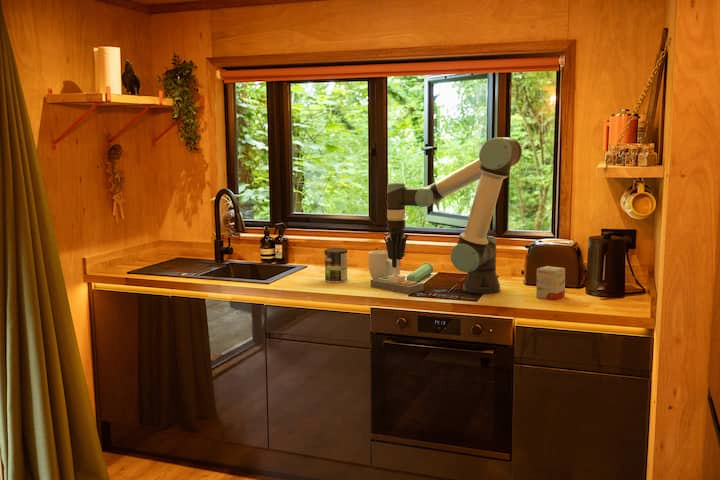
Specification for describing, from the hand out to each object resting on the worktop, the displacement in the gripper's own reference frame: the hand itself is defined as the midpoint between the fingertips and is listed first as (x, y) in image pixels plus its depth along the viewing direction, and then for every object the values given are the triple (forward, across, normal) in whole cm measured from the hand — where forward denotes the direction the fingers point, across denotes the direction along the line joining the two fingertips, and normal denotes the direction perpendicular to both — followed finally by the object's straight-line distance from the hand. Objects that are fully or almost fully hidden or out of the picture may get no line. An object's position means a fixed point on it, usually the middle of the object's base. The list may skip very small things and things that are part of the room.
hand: (396, 274), depth 304 cm
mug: (+6, -7, -14) cm, 17 cm away
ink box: (+6, -27, +57) cm, 64 cm away
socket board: (+6, 0, 0) cm, 6 cm away
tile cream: (+4, 0, 0) cm, 4 cm away
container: (+7, -22, -5) cm, 23 cm away
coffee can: (+7, +5, -32) cm, 33 cm away
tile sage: (+6, 0, -6) cm, 9 cm away
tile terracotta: (+6, 0, +7) cm, 9 cm away
